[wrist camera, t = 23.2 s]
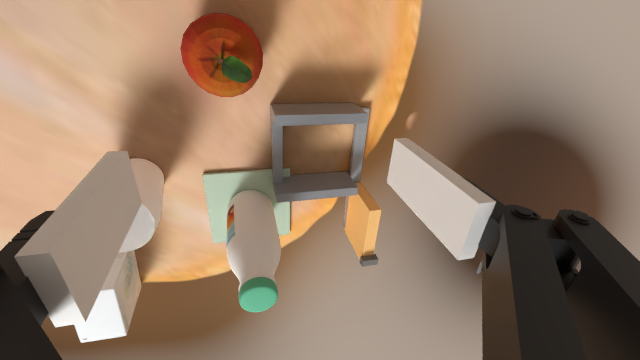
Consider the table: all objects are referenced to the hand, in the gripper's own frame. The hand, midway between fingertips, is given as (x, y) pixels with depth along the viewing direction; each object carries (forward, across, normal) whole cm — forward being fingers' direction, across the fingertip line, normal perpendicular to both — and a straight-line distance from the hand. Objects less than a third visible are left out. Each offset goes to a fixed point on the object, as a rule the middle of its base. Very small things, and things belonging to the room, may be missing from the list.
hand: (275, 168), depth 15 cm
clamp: (+32, +11, -17) cm, 38 cm away
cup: (+32, -17, -16) cm, 40 cm away
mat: (+32, -1, -23) cm, 39 cm away
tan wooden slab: (+30, +18, -25) cm, 43 cm away
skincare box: (+32, -24, -33) cm, 52 cm away
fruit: (+32, -3, +2) cm, 32 cm away
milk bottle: (+31, -1, -23) cm, 39 cm away
